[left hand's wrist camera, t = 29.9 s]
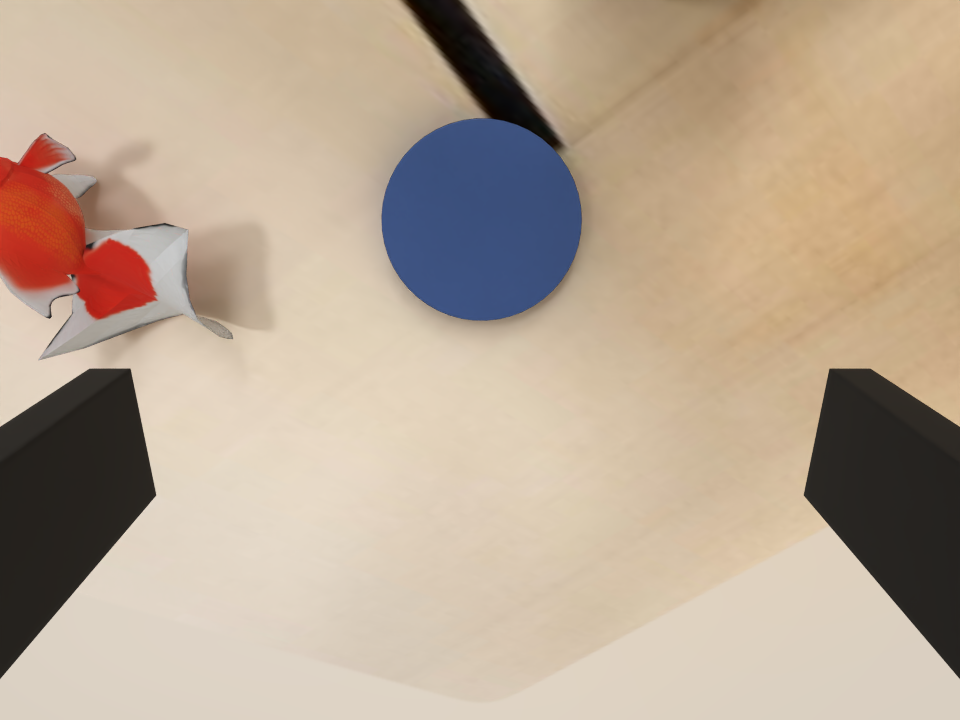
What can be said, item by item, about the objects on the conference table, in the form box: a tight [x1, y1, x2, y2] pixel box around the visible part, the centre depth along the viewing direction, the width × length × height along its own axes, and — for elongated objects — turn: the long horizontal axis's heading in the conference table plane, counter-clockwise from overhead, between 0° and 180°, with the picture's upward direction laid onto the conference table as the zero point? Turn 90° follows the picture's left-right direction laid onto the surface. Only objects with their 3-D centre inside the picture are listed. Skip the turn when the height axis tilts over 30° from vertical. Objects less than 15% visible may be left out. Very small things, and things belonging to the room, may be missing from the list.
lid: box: [382, 118, 582, 321], centre depth 37 cm, size 11×11×2 cm
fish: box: [0, 133, 233, 360], centre depth 35 cm, size 11×16×10 cm
